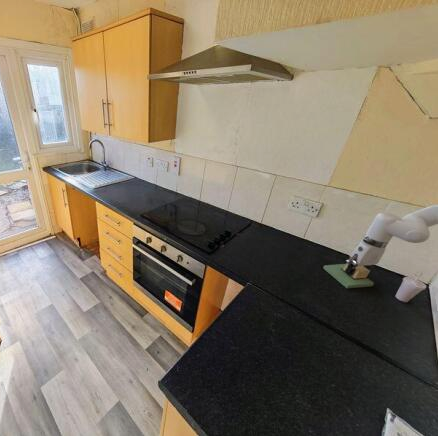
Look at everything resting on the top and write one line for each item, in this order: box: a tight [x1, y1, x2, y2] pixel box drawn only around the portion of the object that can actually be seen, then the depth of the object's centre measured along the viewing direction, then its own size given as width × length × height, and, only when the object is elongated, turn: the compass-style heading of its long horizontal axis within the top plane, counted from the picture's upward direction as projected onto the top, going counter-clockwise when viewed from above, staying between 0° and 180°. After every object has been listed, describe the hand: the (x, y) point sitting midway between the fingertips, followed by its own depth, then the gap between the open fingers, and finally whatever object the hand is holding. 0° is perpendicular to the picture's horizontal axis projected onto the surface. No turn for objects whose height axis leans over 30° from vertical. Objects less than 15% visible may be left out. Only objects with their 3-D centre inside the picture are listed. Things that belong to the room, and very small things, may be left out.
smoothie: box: [394, 272, 427, 303], centre depth 91 cm, size 6×6×14 cm
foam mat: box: [322, 263, 375, 289], centre depth 105 cm, size 13×13×2 cm
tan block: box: [343, 262, 371, 280], centre depth 104 cm, size 6×6×4 cm
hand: (354, 272), depth 104 cm, fingers closed on tan block, 6 cm apart
